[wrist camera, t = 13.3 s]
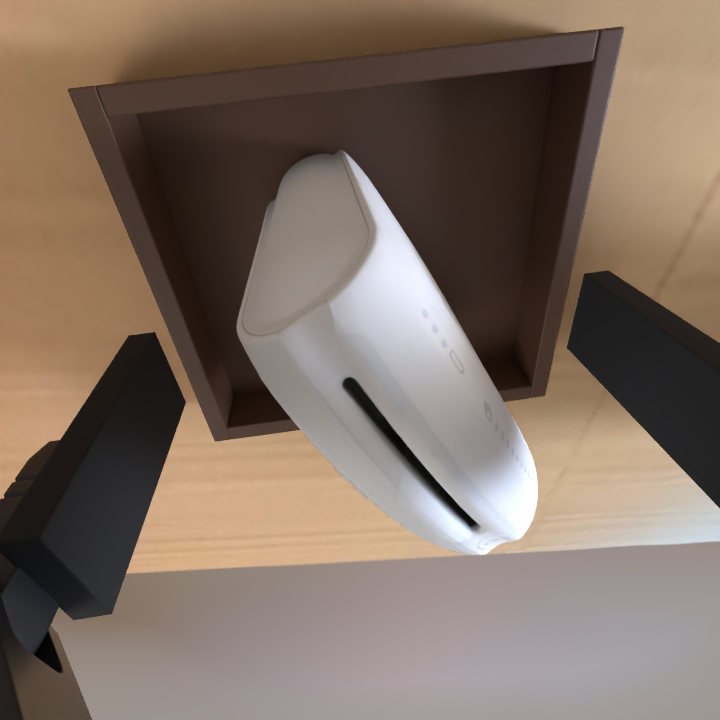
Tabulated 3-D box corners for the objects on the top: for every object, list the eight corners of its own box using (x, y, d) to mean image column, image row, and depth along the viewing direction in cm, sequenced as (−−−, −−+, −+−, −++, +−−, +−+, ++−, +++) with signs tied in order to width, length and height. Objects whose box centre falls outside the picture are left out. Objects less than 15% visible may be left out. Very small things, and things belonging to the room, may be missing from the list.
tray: (225, 400, 23) (214, 442, 20) (108, 85, 15) (66, 88, 12) (519, 361, 23) (545, 396, 21) (572, 33, 15) (626, 26, 12)
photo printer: (459, 321, 21) (599, 559, 11) (385, 363, 22) (451, 616, 12) (342, 125, 15) (404, 231, 5) (253, 194, 16) (162, 392, 6)
